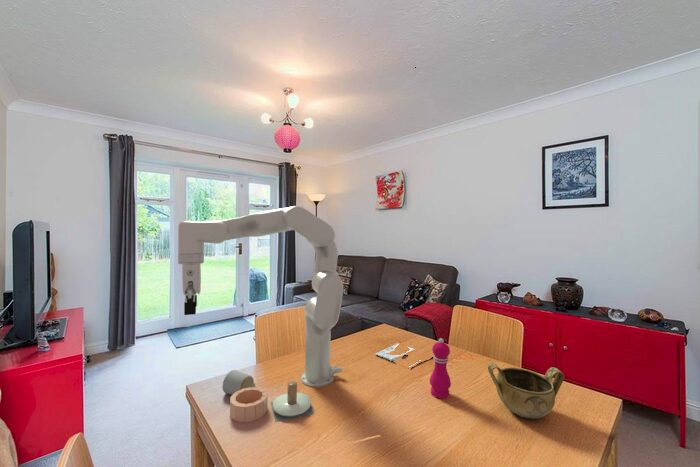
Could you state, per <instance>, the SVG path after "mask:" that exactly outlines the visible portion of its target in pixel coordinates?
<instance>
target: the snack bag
mask: <svg viewBox="0 0 700 467" xmlns="http://www.w3.org/2000/svg"><path fill="white" fill-rule="evenodd" d="M399 344H400V343H399V342H398V343H396V344H394V345H391V346H390V347H387V348H384V349H382V350H380V351H378V352H376V353H374V355H375V356H376V355H378V356H380V357H379V358H381V357H383V358H386V359H389V360H390V361H389V362H391V361H395V359H397V358H400V357H401V356H403V355H404V354H406V353H408V352H411V351H413V350H416V348H413V347H410V346H407V347H408V348H409V349H410V350H409V351H407V352H406V353H403V354H401V355H390V354H386V353H390V352H392V351H395V348H396V347H397V346H398V345H399ZM378 356H377V357H378ZM383 358H382V359H383ZM386 359H385V360H386ZM419 361H421V360H419ZM416 363H418V362H416ZM416 363H415V364H416ZM415 364H413V365H415ZM413 365H411V366H409V367H412V366H413Z"/></svg>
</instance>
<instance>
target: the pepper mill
mask: <svg viewBox="0 0 700 467" xmlns="http://www.w3.org/2000/svg"><path fill="white" fill-rule="evenodd" d="M444 341H445V340H444V339H443V338H439V339H438V341H437V342H435V343H434V344H433V345H432V349H431V351H432V353H433V355H432V356H433V359H432V360H433V361H434V369H433V370H432V372H431V374H430V376H429V383H430V394H431V396H432V397H434V396H435V397H434V398H436V397H438V398H437V399H439V398H446V399H448V398H449V397H450V388H451V386H452V383H451V377H450V375H449V373H448V369H447V363H448V362H449V357H448V356H450V352H451V351H450V346H449V345H448V344H447V343H446V342H444ZM448 396H449V397H448ZM447 397H448V398H447Z"/></svg>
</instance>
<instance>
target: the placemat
mask: <svg viewBox="0 0 700 467" xmlns="http://www.w3.org/2000/svg"><path fill="white" fill-rule="evenodd" d="M273 402H274V401H270V406H271V409H272V414H273V418H274V421H275V423H278V422H283V421H287V420H292V419H296V418H297V419H298V418H301V417H307V416H311V415H315V412H314V410H313V407H312V406H310V408H309V409H308V410H307V411H306V412H304V413H302V414H299V415H296V416H283V415H279V414H277V413H276V412H275V411H274V410H273Z"/></svg>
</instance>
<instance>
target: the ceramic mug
mask: <svg viewBox="0 0 700 467" xmlns="http://www.w3.org/2000/svg"><path fill="white" fill-rule="evenodd" d="M250 387H252V388H253V387H256V382H255V381H254V377H253V376H252V375H250V374H248V373H245V372H241V371H239V370H236V369H233V370H230V371H229V372H228V373H227V374H226V375H225V377H224V378H223V382H222V391H223V393H224V394H226V395H231V396H232V395H233V394H234V393H235V392H237V391H239V390H241V389H244V388H250Z"/></svg>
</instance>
